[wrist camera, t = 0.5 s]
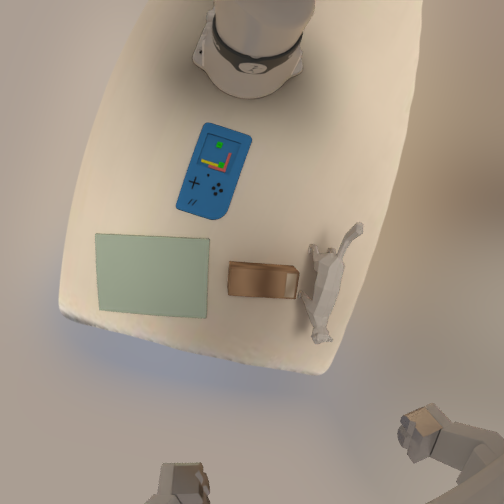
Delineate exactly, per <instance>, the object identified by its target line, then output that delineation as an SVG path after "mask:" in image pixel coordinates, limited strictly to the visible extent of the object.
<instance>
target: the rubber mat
mask: <svg viewBox="0 0 504 504" xmlns="http://www.w3.org/2000/svg"><path fill="white" fill-rule="evenodd" d="M95 248H96V272H97V287H98V300H99V310H103V311H112V312H122V313H133V314H145V315H158V316H172V317H188V318H206V315H207V283H208V259H209V239H202V238H183V237H162V236H141V235H119V234H95Z"/></svg>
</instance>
